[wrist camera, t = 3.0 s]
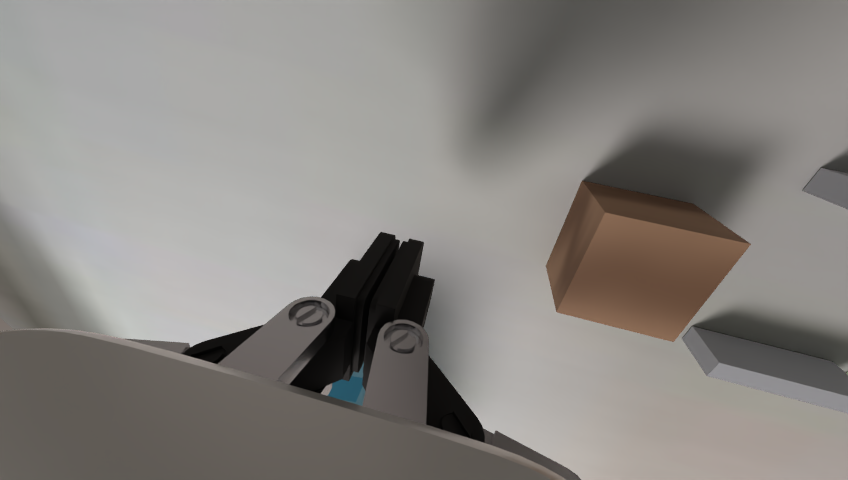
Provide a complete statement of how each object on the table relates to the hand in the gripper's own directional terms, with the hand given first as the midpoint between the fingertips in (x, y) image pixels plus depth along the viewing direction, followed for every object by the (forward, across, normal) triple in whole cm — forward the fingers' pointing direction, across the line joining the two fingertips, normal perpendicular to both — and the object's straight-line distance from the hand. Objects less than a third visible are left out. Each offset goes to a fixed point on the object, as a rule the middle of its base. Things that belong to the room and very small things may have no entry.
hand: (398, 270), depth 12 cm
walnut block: (+6, -10, -1) cm, 11 cm away
